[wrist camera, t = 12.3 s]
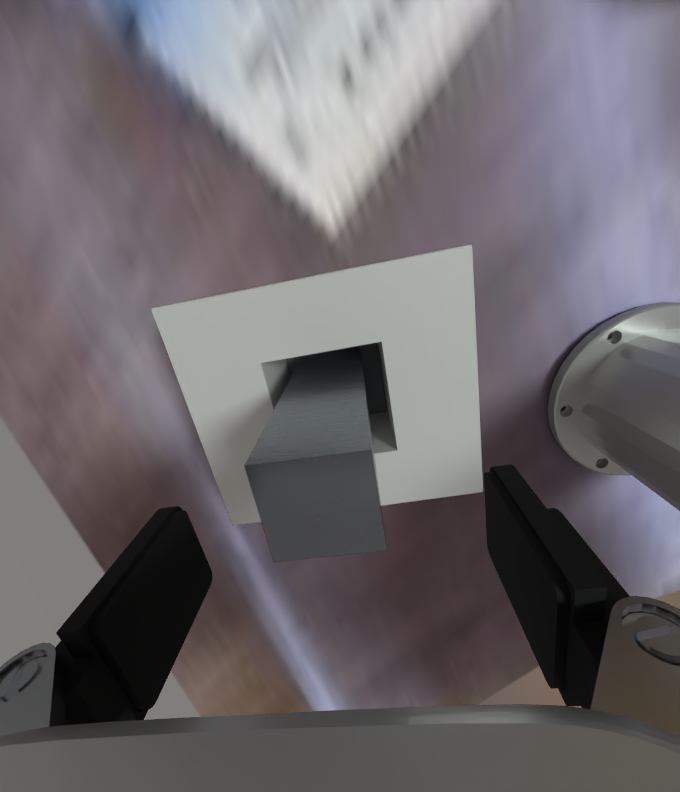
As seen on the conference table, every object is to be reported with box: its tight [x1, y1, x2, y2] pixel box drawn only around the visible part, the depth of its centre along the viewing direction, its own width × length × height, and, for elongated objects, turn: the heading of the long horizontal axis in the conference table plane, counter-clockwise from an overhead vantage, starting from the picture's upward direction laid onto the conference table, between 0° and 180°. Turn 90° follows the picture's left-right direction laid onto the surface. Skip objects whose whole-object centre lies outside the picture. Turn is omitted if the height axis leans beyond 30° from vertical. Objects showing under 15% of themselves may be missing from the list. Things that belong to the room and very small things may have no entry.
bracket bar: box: [244, 346, 387, 562], centre depth 18 cm, size 4×4×14 cm
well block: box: [151, 245, 483, 525], centre depth 22 cm, size 16×14×6 cm
